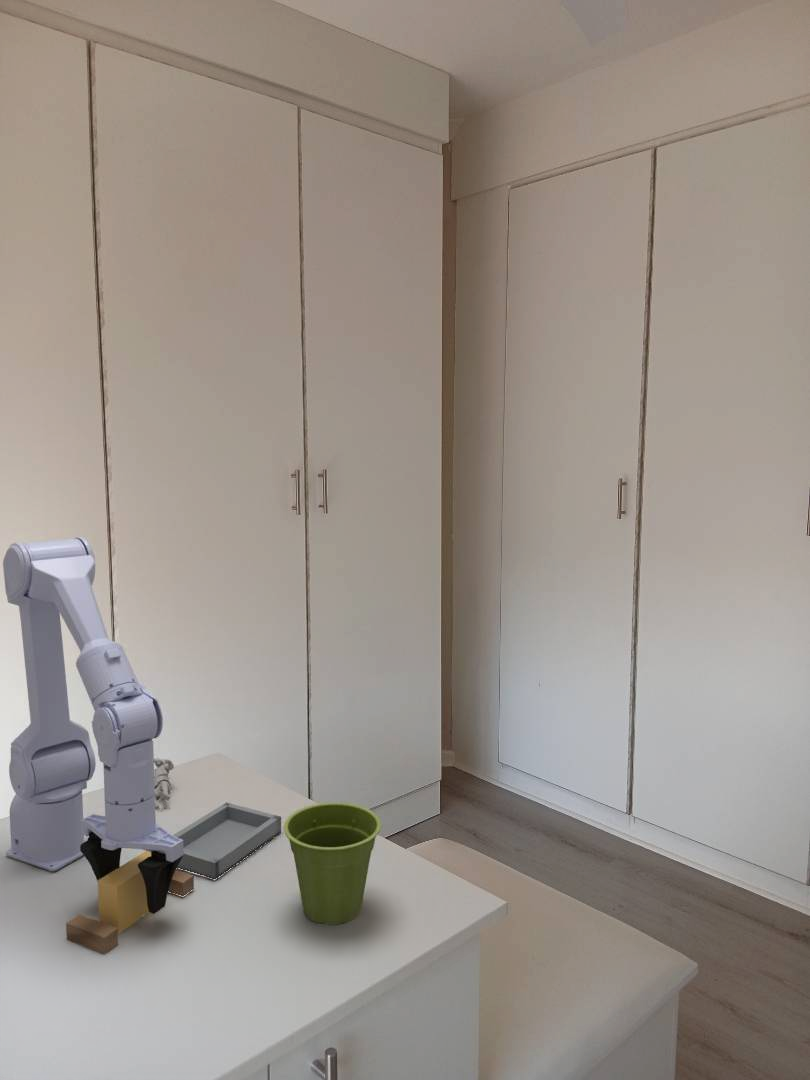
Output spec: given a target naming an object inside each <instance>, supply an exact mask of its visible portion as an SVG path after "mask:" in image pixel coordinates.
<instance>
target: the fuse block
mask: <svg viewBox="0 0 810 1080" xmlns="http://www.w3.org/2000/svg"><path fill="white" fill-rule="evenodd" d="M149 856H150V857H151V852H149V851H146V850H144V851H143V852H141V853H140V854H139V855H137V856H136V857H133V858H132V859H130V860H128V861H127V862H125V863H123V864H122V865H120V867H119V868H117V869H116V870H114V871H112V872H111V873H109V874H107V875H106V876H104V877H103V878H101V879H99V880H98V882H97V897H98V899H97V901H98V921H99V922H102V923H105V924H108V925H110V926H113V927H116V928H118V935H119V934H121V933H122V932H124V931H125V930H127V929H128V928H130V927H131V926H132V925H134V924H135V923H137V922H138V921H140V919H139V918H141V917H142V916H143V915H145V916H147V915H148V914H149V913H148V912H149V910H148V906H147V894H146V887H145V882H144V879H143V876H142V874H141V872H140V870H139V868H138V863H140V862H141V861H143V860H145V859H146V858H148V857H149ZM147 913H148V914H147ZM142 918H143V917H142ZM142 918H141V919H142ZM136 921H137V922H136ZM126 928H127V929H126ZM123 930H124V931H123Z"/></svg>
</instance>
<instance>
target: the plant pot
mask: <svg viewBox="0 0 810 1080" xmlns="http://www.w3.org/2000/svg"><path fill="white" fill-rule="evenodd" d="M381 829H382V822H381V819H380V817H379V816H378V815H377V814H376V813H375V812H374V811H372V810H371V809H369V808H366V807H364V806H361V805H357V804H353V803H347V802H333V801H332V802H322V803H316V804H312V805H311V804H310V805H307V806H304V807H302V808H300V809H297V810H296V811H294V812H293V813H291V814H290V815H289V816H288V817H287V818H286V819H285V821H284V823H283V832H284V834H285V836H286V838H287V839H288V840H289V841H288V842H289V844H290V850H291V851H292V854H293V858H294V863H295V869H296V870H295V871H296V876H297V880H298V887H299V892H300V898H301V899H300V900H301V903H302V904H301V905H302V909H303V913H304V915H305V916H306V917H307V918H308V919H309V920H311V921H313V922H316V923H317V922H322V923H325V924H327V925H339V924H343V923H347V922H349V921H351V920H353V919H354V918H356V917H357V916H358V915H359V912H360V910H361V909H362V906H363V900H364V894H365V889H366V883H367V877H368V873H369V872H368V871H369V865H370V859H371V856H372V855H371V854H372V851H373V849H374V846H375V841H376V837H377V836H378V835H379V833H380V831H381Z"/></svg>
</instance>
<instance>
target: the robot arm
mask: <svg viewBox="0 0 810 1080" xmlns="http://www.w3.org/2000/svg"><path fill="white" fill-rule="evenodd" d="M2 567H3V568H2V569H3V577H4V578H3V579H4V587H5V589H4V590H5V595H6V598H7V599H6V600H7V603H9V604H11V605H14V606H18V611H19V618H20V625H21V627H20V628H21V636H22V637H21V638H22V646H23V657H24V658H23V659H24V667H25V679H26V686H27V690H26V691H27V699H28V708H29V719H30V724H29V725H28V726H27V727H25V729H24V730H23V731H22V732H21V733H20V734H18V736H17V737H16V738H14V739H13V741H12V742H11V743H10V761H9V766H8V774H9V780H10V784H11V786H12V787H11V788H12V790H13V791H14V794H15V795H14V796H13V797H12V800H11V803H10V806H9V827H10V829H9V831H10V846H11V849H9V850H7V851H6V852H5V855H6V856H7V857H10V858H12V859H15V860H18V861H21V862H24V863H26V864H30V865H32V866H36V867H38V868H41V869H44V870H48V871H50V872H56V871H58V870H59V869H61V868H63V867H65V866H67V865H69V864H71V863H72V862H74V861H76V860H77V859H79V858H81V857H83V856H84V857H85V859H86V861H87V862H88V863H89V865H90V867H91V869H92V871H93V874H94V876H95V878H96V882H97V883H98V880H99V879H101V878H103V877H104V876H106V875H107V874H109V873H111V872H112V871H114V870H116V869H117V868H119V867H121V865H120V864H121V855H122V850H123V849H133V850H143V851H149V852H151V857H150V856H149V857H148V858H146V859H145V860H143V861H141V862H140V863H138V868H139V870H140V872H141V874H142V876H143V879H144V882H145V887H146V894H147V906H148V910H149V913H150V914H152V915H155V914H156V913H158V912H159V911H161V910H162V909H163V908H165V907H166V903H167V900H168V899H167V898H168V894H169V893H168V890H169V887H170V883H171V880H172V877H173V875H174V873H175V870H177V869H176V868H177V866H178V864H179V862H180V861H181V859H182V857H183V855H184V850H183V840H182V839H179V838H177V837H175V836H173V835H174V834H171V832H170V831H167V830H166V829H165V828H163V827H162V826H160V825H159V824H158V823H157V822H156V809H155V786H154V772H155V771H154V770H155V763H154V759H155V758H154V757H155V755H154V740H153V739H158V738H159V737H160V735H161V734H162V730H163V725H164V724H163V723H164V719H163V713H162V708H161V705H160V703H159V700H158V698H157V696H155V694H154V693H153V692H151V691H149V690H148V688H147V686H146V685H144V684H143V683H142V684H140V683H139V681H138V679H137V677H136V674H135V673H134V670H133V668H132V666H131V664H130V660H129V659H128V656H127V654H126V652H125V649H124V647H123V646H122V645H121V643H118V642H116V641H115V640H114V641H113V640H110V639H109V636H108V633H107V629H106V627H105V624H104V623H105V622H104V620H103V617H102V614H101V612H100V608H99V605H98V602H97V599H96V596H95V593H94V590H93V583H94V581H95V577H96V559H95V553H94V550H93V548H92V545H91V544H90V543H89V542H88V541H87V539H86V538H84V537H82V536H76V537H74V538H67V539H66V538H65V539H52V540H45V541H44V540H43V541H33V542H32V541H31V542H13V543H11V544H10V545H9V547H8V548H7V550H6V552H5V554H4V557H3V560H2ZM61 617H62V619H63V621H64V623H65V625H66V627H67V630H68V631H69V633H70V634H71V636H72V638H73V640H74V642H75V644H76V646H77V647H78V649H79V651H80V653H79V655H78V656H77V659H76V661H75V666H76V669H77V672H78V673H79V676H80V678H81V681H82V683H83V686H84V688H85V690H86V694H87V695H88V698H89V700H90V703H91V706H92V707H93V710H94V714H93V717H92V720H91V728H92V733H93V735H94V740H95V741H96V745H97V756H98V759H99V762H101V763H102V764H103V787H104V815H101V814H95V813H92V814H90V815H89V816H88V815H87V816H86V817H85V818H84V806H83V805H84V804H83V790H86V789H87V788H88V783H87V782H89V781H90V780H92V778H93V776H94V773H95V771H96V766H97V765H96V764H97V763H96V756H95V751H94V749H93V747H92V744H91V740H90V739H91V738H90V733H89V730H88V729H87V728H85V727H84V725H83V726H82V724H79V723H78V722H77V723H76V721H73V720H71V719H70V718H71V717H70V716H71V715H70V708H69V707H70V705H69V697H68V696H69V695H68V689H67V688H68V686H67V675H66V665H65V655H64V654H65V653H64V645H63V636H62V635H63V634H62V633H63V632H62V623H61ZM85 836H86V837H87V838H85ZM149 913H148V914H149Z"/></svg>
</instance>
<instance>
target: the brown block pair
mask: <svg viewBox="0 0 810 1080" xmlns="http://www.w3.org/2000/svg"><path fill="white" fill-rule="evenodd" d="M194 875H195V874H191V873H188V872H185V871H182V870H179V869H176V870H175V873H174V875H173V877H172V880H171V883H170V887H169V890H168V891H169V892H171V893H175V894H178V895H181V896H184V895H186V894H187V893H188V892H190V891H191V890H193V889H194V890H195V883H194V882H195V879H194V878H195V877H194ZM194 890H193V891H194ZM171 893H170V894H171ZM186 896H187V895H186ZM65 928H66V932H65V933H66V940H68V941H71V942H74V943H76V944H78V945H80V946H84V947H86V948H89V949H91V950H94V951H96V952H99V953H100V954H104V955H106V954H107V953H108V952H110V951H112V949H114V948H115V947H117V946H119V934H118V928H116V927H113V926H110V925H108V924H105V923H102V922H99V920H97V919H95V918H94V919H93V918H90V917H88V916H86V915H83V914H78V915H76V916H75V917H73V918H71V919H70V920H69V921H67V922H66V923H65Z"/></svg>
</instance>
